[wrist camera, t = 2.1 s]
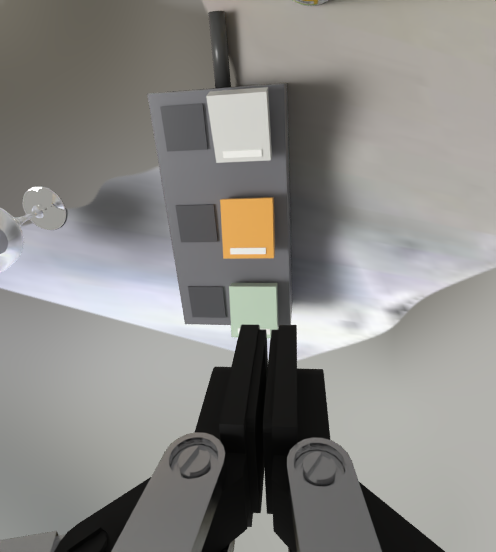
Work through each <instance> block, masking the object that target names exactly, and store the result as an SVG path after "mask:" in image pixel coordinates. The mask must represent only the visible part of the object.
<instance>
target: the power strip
mask: <svg viewBox="0 0 496 552" xmlns="http://www.w3.org/2000/svg"><path fill="white" fill-rule="evenodd" d="M208 14H209V24H210V34H211V45H212V55H213V66H214V77H215V87H216V88H213V89H200V90H188V91H173V92H161V93H151V94H148V100H149V107H150V113H151V119H152V125H153V131H154V138H155V144H156V150H157V156H158V162H159V168H160V174H161V180H162V186H163V192H164V198H165V204H166V210H167V217H168V223H169V229H170V235H171V241H172V247H173V253H174V259H175V265H176V271H177V277H178V283H179V290H180V296H181V302H182V308H183V314H184V320H185V324H210V325H231V316H230V296H229V286H230V284H231V283H277V289H278V326H279V325H291V313H292V269H291V226H290V183H289V139H288V96H287V83H279V84H266V85H253V86H239V87H231V84H230V72H229V59H228V46H227V34H226V21H225V12H224V11H213V12H209V13H208ZM262 87H268V96H269V112H270V128H271V145H272V157H271V160H267V161H245V162H223V163H216V157H215V150H214V144H213V137H212V131H211V124H210V118H209V111H208V104H207V98H206V96H207V94H208V93H209V92H210V91H222V90H235V89H249V88H262ZM261 197H274V228H275V257H274V258H244V259H223V243H222V225H221V206H220V200H221V199H228V198H261Z"/></svg>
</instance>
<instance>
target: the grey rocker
mask: <svg viewBox="0 0 496 552" xmlns="http://www.w3.org/2000/svg"><path fill="white" fill-rule="evenodd" d="M206 98H207V104H208V111H209V118H210V124H211V131H212V137H213V144H214V150H215V157H216V163H223V162H245V161H267V160H271V157H272V145H271V128H270V112H269V96H268V87H262V88H249V89H235V90H222V91H210V92H209V93H208V94H207V96H206Z"/></svg>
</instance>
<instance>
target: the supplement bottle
mask: <svg viewBox="0 0 496 552" xmlns="http://www.w3.org/2000/svg"><path fill="white" fill-rule="evenodd" d="M293 1H294V2H296V3H298V4H301V5H306V6H314V5H319V4H322V3H324V2H327V1H328V0H293Z"/></svg>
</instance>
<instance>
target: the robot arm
mask: <svg viewBox="0 0 496 552" xmlns="http://www.w3.org/2000/svg"><path fill="white" fill-rule="evenodd" d="M264 467H265V486H266V505H267V513H268V514H273V526H274V532H275V533H276V534H277V535H278V536H279V537H280V539H281V540H282V541H283V542H284V543H285V544H286V545H287V546H288V552H445V551H444V550H442V549H441V548H440V547H438V546H437V545H436V544H435V543H434V542H432V541H431V540H430V539H429V538H428V537H426V536H425V535H424V534H422V533H421V532H420V531H419V530H418V529H417V528H415V527H414V526H413V525H412V524H410V523H409V522H408V521H407V520H405V519H404V518H403V517H402V516H401V515H399V514H398V513H397V512H396V511H394V510H393V509H392V508H391V507H389V506H388V505H387V504H386V503H385V502H383V501H382V500H381V499H380V498H378V497H377V496H376V495H375V494H373V493H372V492H371V491H370V490H368V489H367V488H366V487H365V486H364V485H362V484H361V483H360V482H359V481H358V478H357V475H356V472H355V469H354V466H353V463H352V460H351V458H350V457H349V455H348V453H347V452H346V451H345V450H344V449H343V448H342V447H341V446H340V445H338V444H337V443H335V442H333V441H331V440H330V432H329V422H328V412H327V402H326V392H325V382H324V373H323V369H297V328H296V325H279V326H278V330H271V340H270V351H269V361H268V357H267V333H266V329H260V326H259V325H245V324H242V325H241V327H240V332H239V336H238V341H237V345H236V350H235V354H234V358H233V363H232V367H214V369H213V371H212V374H211V378H210V381H209V385H208V388H207V392H206V395H205V399H204V402H203V405H202V409H201V412H200V416H199V419H198V423H197V426H196V430H195V433H190V434H186V435H184V436H182V437H180V438H178V439H176V440H175V441H174V442H173V443H171V444H170V446H169V447H168V448H167V450H166V451H165V452H164V454H163V456H162V458H161V460H160V462H159V464H158V466H157V467H156V469H155V471H154V473H153V475H152V477H150V478H149V479H147V480H146V481H144V482H143V483H141V484H139V485H138V486H136V487H135V488H133V489H132V490H130V491H128V492H127V493H125V494H124V495H122V496H121V497H119V498H118V499H116V500H114V501H113V502H111V503H110V504H108V505H107V506H105V507H104V508H102V509H100V510H99V511H97V512H96V513H94V514H93V515H91V516H90V517H88V518H86V519H85V520H83V521H82V522H80V523H79V524H77V525H76V526H75V527H73V528H72V529H71V530H70V531H68V532H67V534H66V535H60V536H59V535H58V533H57V531H53V532H47V533H41V534H34V535H28V536H23V537H17V538H10V539H5V540H0V552H233V551H234V544H235V538H237V537H238V536H239V535H240V534H242V533H243V532H244V531H245V530H246V529H247V527H252V517H253V513H260V512H261V502H262V490H263V478H264Z"/></svg>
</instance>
